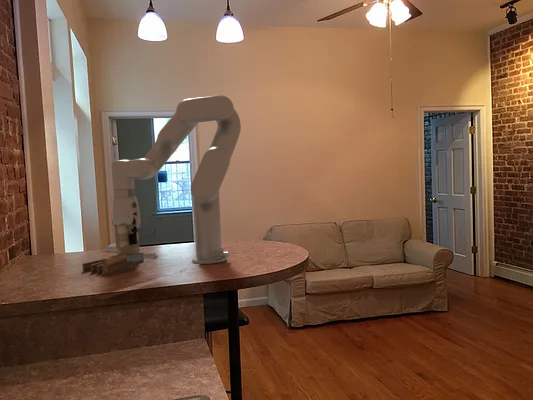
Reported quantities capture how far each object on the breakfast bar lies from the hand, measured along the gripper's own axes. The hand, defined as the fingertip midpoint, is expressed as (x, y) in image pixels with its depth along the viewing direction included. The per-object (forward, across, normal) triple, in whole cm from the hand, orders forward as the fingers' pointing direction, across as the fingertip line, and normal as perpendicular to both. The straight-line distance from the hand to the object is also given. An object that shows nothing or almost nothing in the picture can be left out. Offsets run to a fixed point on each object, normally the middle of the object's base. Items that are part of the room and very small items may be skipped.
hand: (127, 243), depth 168 cm
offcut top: (+5, -8, +12) cm, 15 cm away
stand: (+8, 0, 0) cm, 8 cm away
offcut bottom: (+7, -8, +12) cm, 16 cm away
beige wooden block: (+7, 0, 0) cm, 7 cm away
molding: (+9, +20, -19) cm, 29 cm away
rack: (+8, -4, +12) cm, 15 cm away
